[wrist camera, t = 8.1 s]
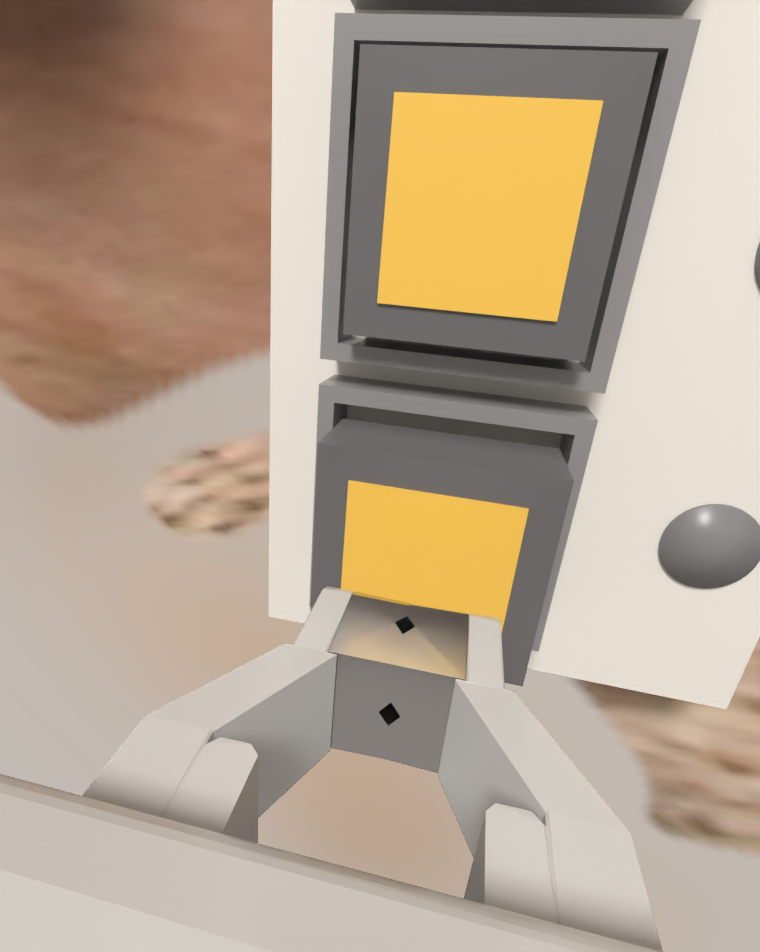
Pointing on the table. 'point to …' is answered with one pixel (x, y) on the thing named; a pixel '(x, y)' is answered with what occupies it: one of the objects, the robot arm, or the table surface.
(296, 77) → the button panel
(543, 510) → the button
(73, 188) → the table surface
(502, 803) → the robot arm
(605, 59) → the button middle
